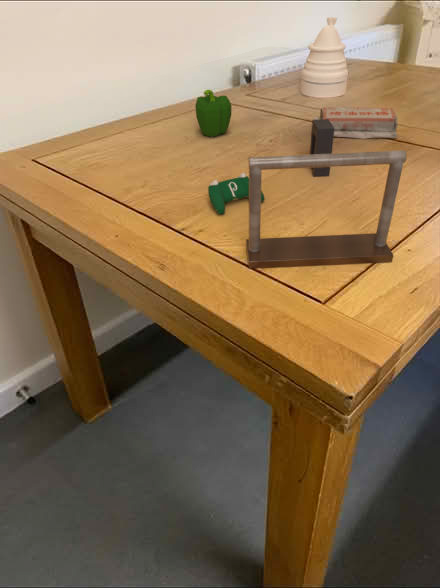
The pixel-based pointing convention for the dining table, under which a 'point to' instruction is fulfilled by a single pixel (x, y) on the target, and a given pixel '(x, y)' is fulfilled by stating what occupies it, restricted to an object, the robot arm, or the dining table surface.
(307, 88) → the honey pot
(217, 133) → the bell pepper
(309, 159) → the rail stand
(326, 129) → the clip
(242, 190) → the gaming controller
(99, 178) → the dining table surface
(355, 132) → the packaged product
